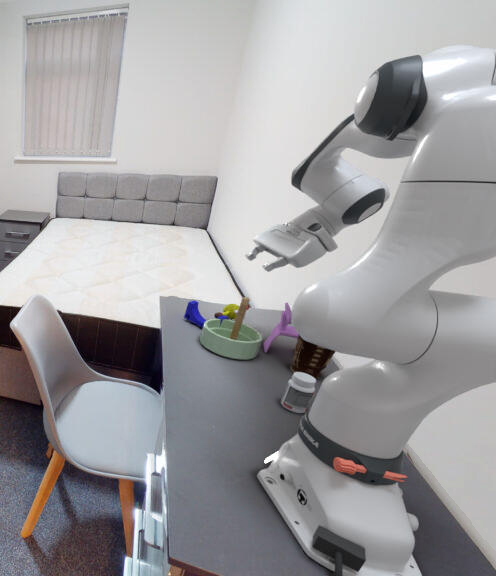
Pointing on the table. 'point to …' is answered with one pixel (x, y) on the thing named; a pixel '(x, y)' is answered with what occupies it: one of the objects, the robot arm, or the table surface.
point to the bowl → (230, 348)
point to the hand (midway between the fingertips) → (255, 263)
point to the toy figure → (229, 311)
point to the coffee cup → (310, 358)
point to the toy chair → (282, 328)
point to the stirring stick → (239, 318)
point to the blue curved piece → (197, 314)
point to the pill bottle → (298, 392)
